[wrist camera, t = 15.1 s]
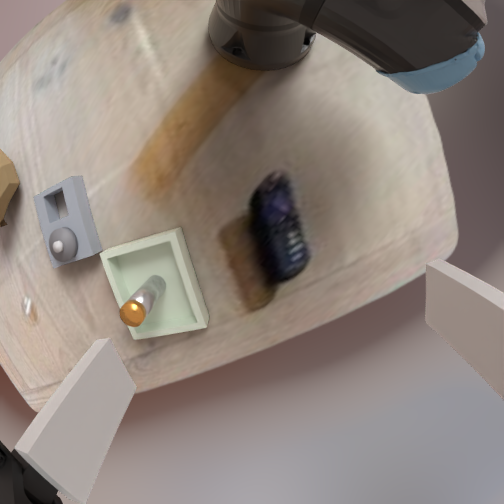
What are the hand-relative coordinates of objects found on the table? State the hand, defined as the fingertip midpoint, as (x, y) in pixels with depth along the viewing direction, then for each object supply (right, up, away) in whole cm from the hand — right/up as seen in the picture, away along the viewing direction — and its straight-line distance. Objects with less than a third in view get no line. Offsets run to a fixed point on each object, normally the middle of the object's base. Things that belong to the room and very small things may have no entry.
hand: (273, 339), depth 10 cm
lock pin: (-15, -2, +29) cm, 33 cm away
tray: (-15, -1, +30) cm, 33 cm away
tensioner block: (-29, +8, +27) cm, 41 cm away
